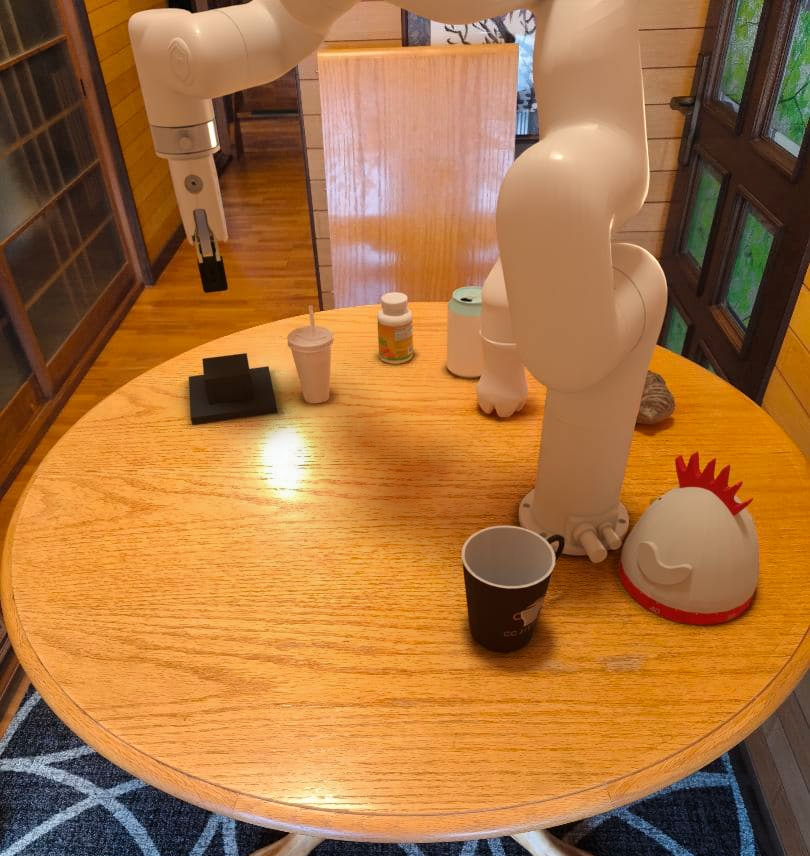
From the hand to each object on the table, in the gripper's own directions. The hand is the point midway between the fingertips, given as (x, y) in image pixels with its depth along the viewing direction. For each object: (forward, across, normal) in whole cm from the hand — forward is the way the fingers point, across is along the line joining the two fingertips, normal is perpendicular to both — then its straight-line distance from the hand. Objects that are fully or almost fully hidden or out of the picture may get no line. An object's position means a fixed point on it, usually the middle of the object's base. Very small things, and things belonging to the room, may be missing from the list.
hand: (215, 289), depth 101 cm
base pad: (+16, 0, +1) cm, 16 cm away
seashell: (+17, -20, -53) cm, 60 cm away
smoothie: (+17, -3, -11) cm, 20 cm away
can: (+17, -1, -35) cm, 39 cm away
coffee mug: (+18, -53, -24) cm, 61 cm away
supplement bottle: (+17, +6, -25) cm, 31 cm away
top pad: (+15, 0, +1) cm, 15 cm away
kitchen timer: (+18, -51, -44) cm, 70 cm away
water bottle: (+17, -13, -36) cm, 42 cm away
